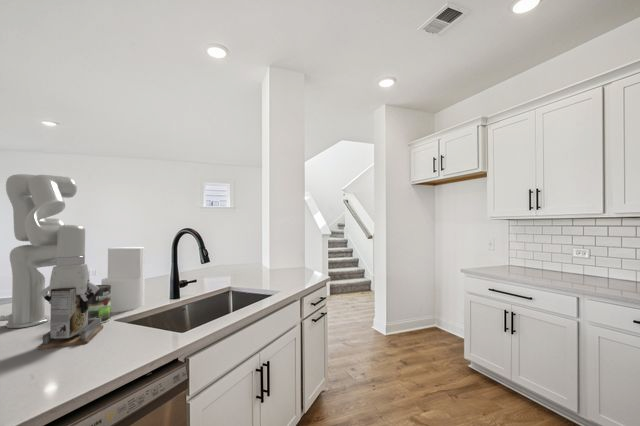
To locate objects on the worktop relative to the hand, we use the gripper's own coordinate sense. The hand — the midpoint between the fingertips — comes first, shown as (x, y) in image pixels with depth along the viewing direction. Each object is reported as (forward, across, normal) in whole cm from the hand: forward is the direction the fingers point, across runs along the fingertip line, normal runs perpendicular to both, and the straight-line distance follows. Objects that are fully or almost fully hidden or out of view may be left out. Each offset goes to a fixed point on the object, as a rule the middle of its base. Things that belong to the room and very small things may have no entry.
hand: (70, 313), depth 103 cm
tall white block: (+10, +6, +42) cm, 43 cm away
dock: (+9, 0, +3) cm, 10 cm away
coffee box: (+7, 0, 0) cm, 7 cm away
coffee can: (+10, +1, +21) cm, 23 cm away
